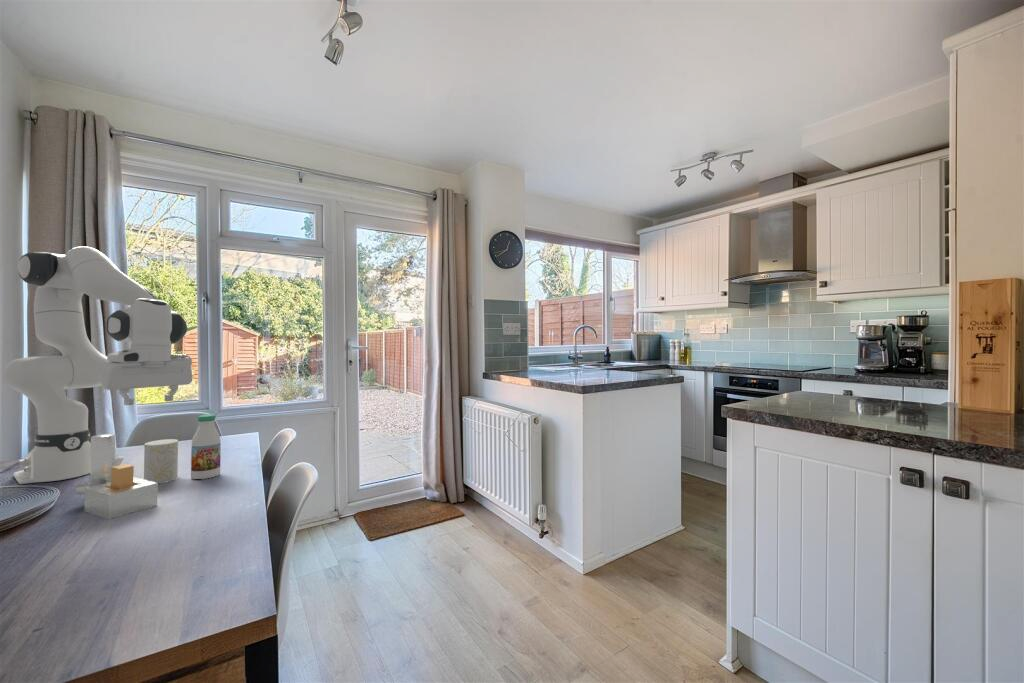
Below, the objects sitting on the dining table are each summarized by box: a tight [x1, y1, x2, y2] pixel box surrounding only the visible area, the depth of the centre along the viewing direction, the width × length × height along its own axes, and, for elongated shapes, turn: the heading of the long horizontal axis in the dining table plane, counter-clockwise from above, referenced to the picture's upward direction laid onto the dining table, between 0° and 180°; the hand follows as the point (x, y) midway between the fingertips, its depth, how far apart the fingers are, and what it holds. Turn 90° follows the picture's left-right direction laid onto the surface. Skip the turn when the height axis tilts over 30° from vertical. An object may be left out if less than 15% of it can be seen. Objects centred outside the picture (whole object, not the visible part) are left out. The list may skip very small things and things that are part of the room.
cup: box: [143, 438, 179, 484], centre depth 130 cm, size 8×8×12 cm
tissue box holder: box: [75, 433, 159, 520], centre depth 110 cm, size 21×10×18 cm, turn 66°
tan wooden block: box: [111, 463, 135, 490], centre depth 108 cm, size 4×3×11 cm
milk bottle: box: [190, 414, 222, 480], centre depth 134 cm, size 8×8×20 cm
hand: (149, 402), depth 118 cm, fingers open, 8 cm apart
